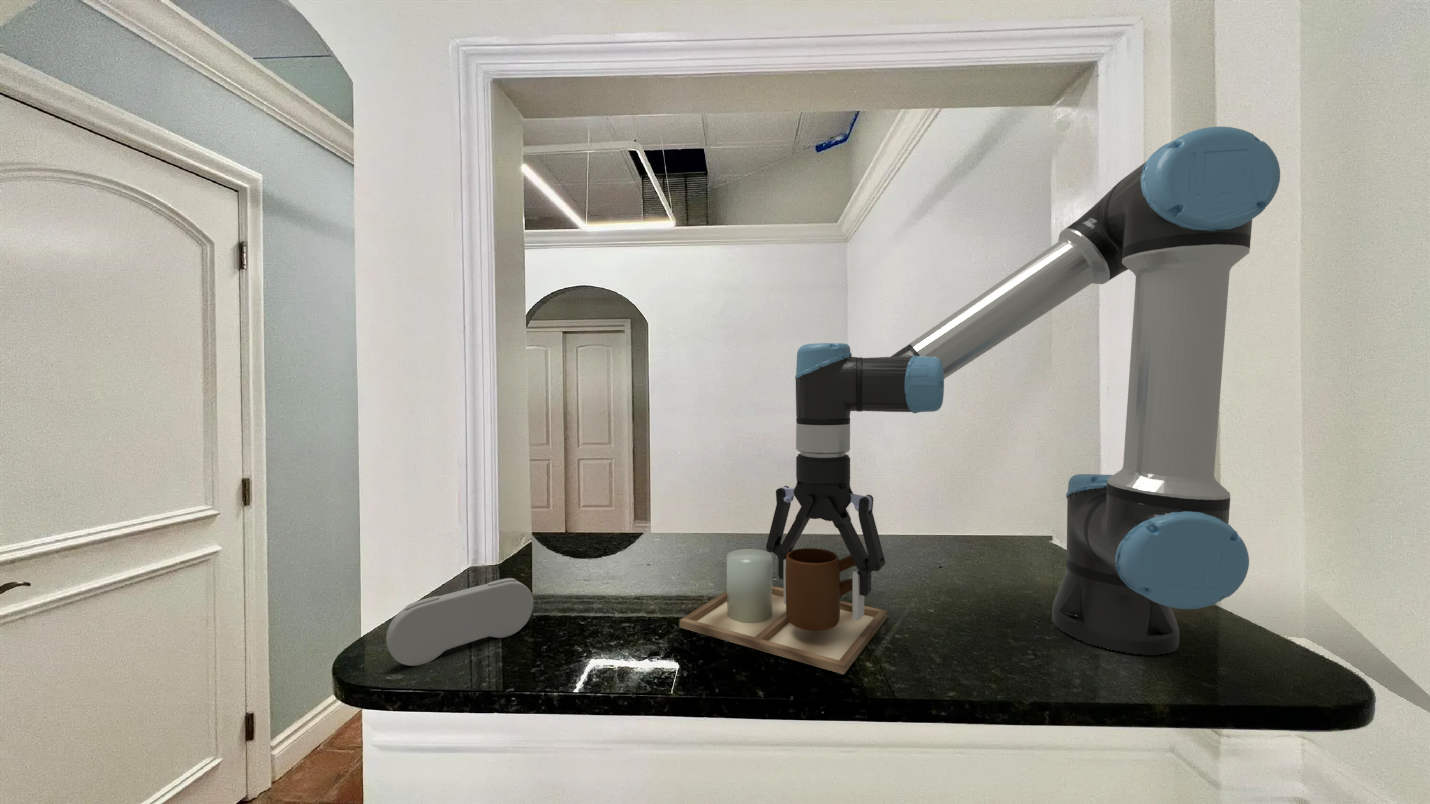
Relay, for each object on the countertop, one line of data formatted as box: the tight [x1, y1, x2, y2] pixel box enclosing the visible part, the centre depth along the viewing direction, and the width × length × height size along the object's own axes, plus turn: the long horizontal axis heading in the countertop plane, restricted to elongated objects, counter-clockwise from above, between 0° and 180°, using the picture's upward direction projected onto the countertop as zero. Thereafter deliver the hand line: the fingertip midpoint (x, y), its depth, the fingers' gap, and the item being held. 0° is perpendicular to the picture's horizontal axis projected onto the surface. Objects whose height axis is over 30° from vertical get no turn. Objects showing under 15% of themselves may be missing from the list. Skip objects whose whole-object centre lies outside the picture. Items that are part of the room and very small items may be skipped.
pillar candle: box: [726, 548, 773, 623], centre depth 87 cm, size 7×7×9 cm
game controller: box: [385, 577, 534, 667], centre depth 79 cm, size 20×2×8 cm, turn 133°
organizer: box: [678, 585, 888, 675], centre depth 84 cm, size 25×19×2 cm
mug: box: [786, 547, 856, 631], centre depth 80 cm, size 12×8×9 cm, turn 95°
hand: (823, 608), depth 80 cm, fingers closed on mug, 10 cm apart
